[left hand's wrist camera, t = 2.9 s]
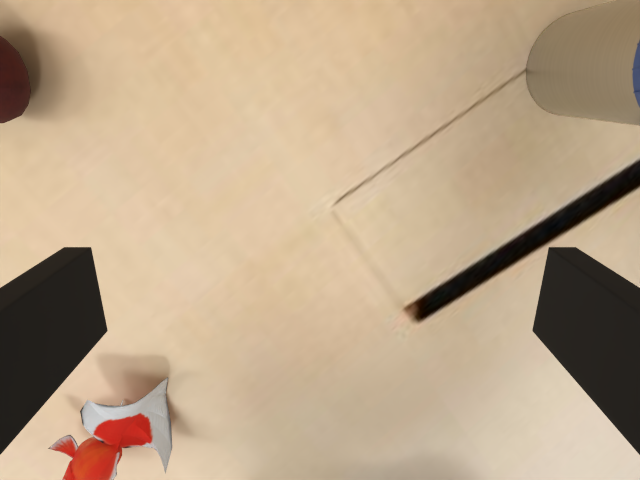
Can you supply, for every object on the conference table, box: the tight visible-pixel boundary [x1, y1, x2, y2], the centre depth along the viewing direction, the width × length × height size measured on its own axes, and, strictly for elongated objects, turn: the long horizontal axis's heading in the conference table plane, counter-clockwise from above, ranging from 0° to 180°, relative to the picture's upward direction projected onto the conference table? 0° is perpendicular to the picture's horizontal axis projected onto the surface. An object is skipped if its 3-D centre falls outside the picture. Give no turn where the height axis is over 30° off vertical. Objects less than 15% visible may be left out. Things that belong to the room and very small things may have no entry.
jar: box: [526, 0, 640, 125], centre depth 29 cm, size 8×8×15 cm
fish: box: [48, 378, 172, 480], centre depth 45 cm, size 11×16×10 cm
